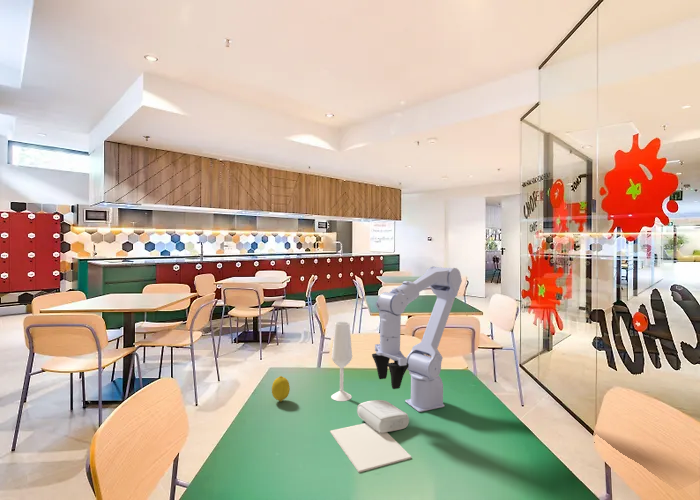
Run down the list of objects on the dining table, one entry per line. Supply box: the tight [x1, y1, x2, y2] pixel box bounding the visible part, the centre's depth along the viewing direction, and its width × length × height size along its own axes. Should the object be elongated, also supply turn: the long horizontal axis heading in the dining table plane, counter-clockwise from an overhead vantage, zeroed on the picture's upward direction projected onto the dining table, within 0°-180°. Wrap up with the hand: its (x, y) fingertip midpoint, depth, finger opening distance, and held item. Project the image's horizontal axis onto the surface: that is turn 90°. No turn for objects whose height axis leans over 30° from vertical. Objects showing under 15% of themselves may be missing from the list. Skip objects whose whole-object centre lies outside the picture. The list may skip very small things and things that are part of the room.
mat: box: [329, 422, 412, 473], centre depth 88 cm, size 14×18×1 cm
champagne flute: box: [330, 321, 353, 402], centre depth 116 cm, size 7×7×24 cm
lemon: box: [271, 375, 291, 402], centre depth 112 cm, size 6×6×8 cm
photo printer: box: [356, 399, 410, 433], centre depth 99 cm, size 10×4×12 cm
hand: (389, 383), depth 101 cm, fingers open, 7 cm apart
